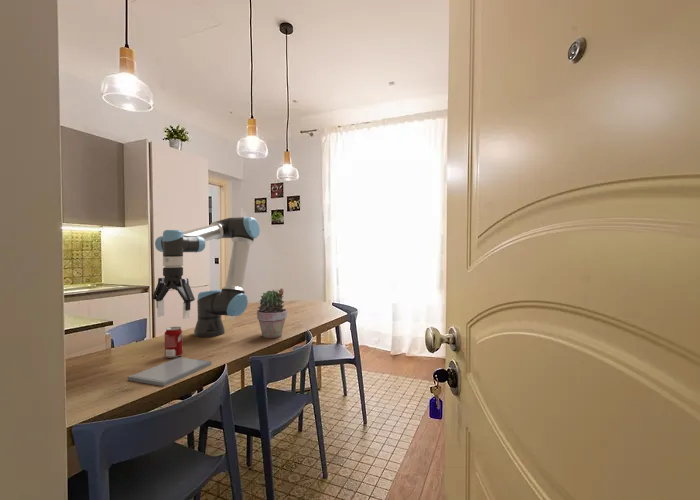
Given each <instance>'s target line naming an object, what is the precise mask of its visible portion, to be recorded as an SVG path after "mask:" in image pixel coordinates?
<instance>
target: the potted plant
mask: <svg viewBox="0 0 700 500" xmlns="http://www.w3.org/2000/svg"><path fill="white" fill-rule="evenodd" d="M260 297H261V298H260V300H259V301H258V303H259V304H260V305H259V306H258V307H255V308H253V309H258V310H256V318H257V320H258V323H259V328H260V331H261V336H262V337H263V338H266V339H274V338H279V337H281V336H282V335H283V330H284V325H285V323H286V319H287V318H288V310H287V309H288V308H284V307H285V304H284V303H285V301H284V300H283V297H284V288H280V289H279V290H278V289H276V290H274V289H272V290H267V291H266V292H263V293H262V295H261V296H260ZM255 304H257V302H255V303H254V305H255Z"/></svg>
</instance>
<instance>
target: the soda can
mask: <svg viewBox="0 0 700 500" xmlns="http://www.w3.org/2000/svg"><path fill="white" fill-rule="evenodd" d="M165 330H166V331H165V332H164V354H163V355H164V357H165V358H167V359H176V358H179V357H180V356H182V355H183V353H184V352H183V350H184V349H183V345H184V344H183V342H184V340H183V339H184V338H183V333H184V332H183V330H182V327H181V326H169V327H166V329H165Z"/></svg>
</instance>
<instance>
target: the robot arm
mask: <svg viewBox="0 0 700 500" xmlns="http://www.w3.org/2000/svg"><path fill="white" fill-rule="evenodd" d="M260 232H261V230H260V224H259V223H258V221H257V219H256V218H255V217H251V216H238V217H226V218H224V219H219V220H217V221H213V222H211V223H210V224H209V225H206V226H200V227H197V228H193V229H189V230H186V231H183V230H179V229H165V230H164V231H163V232H162V235H160V236H158V237H157V238H156V239H155V241H154V248H155V249H156V251H158V252H161V253H162V266H163V267H162V276H163V277H158V278H157V285H156V287H155V289H154V292H153V295H152V300H155V301H156V309H157V310H156V311H157V312H156V313H157V314H156V315H157V318H160V317H165V300H164V298H165V297H166V295H167V294H168V292H169V291H170V290H176V292H178V294H179V296H180V298H181V299H182V300H183V303H182V319H183V320H185V319H189V318H190V310H191V302H193V301H195V300H196V299H197V302H196V303H197V306H196V307H197V321H196V324H195V327H194V330H193V336H195V337H198V338H209V337H216V336H221V335H223V334H225V333H226V331H225V326H224V323H223V320H222V316H228V317H238V316H241V315H242V314H243V313H244V312H246V309H247V307H248V304H249V303H248V302H249V300H248V296H247V294H245V289H244V288H243V287H244V280H245V274H246V270H247V264H248V259H249V258H248V257H249V254H250V253H249V252H250V248H251V247H250V246H251V245H252V244H254V239H257V238H258V236H259V235H260ZM221 239H231V240H232V242H233V245H232V249H231V250H232V251H231V256H230V260H229V265H228V270H227V271H228V272H227V277H226V283H225V285H224V286H223V287H222V288H221V289H213V290H212V289H211V290H205V291H200V292H199V293H198V294H197V298H195V296H194V292H193V291H192V289H191V286H190V284H189V278H182V277H183V276H184V267H183V266H184V253H200V252H203V251H204V250H205V248H206V242H207V241H211V240H221Z"/></svg>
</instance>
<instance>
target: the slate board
mask: <svg viewBox="0 0 700 500" xmlns="http://www.w3.org/2000/svg"><path fill="white" fill-rule="evenodd" d="M211 365H212V361H211V360H203V359H202V360H201V359H196V358H195V359H194V358H189V357H188V358H186V357H180V356H179V357H177V358H172V360H169V361H168V360H167V361H166V362H163V363H160V364H158V365H155V366H153V367H150V368H148V369H144V370H142V371H139V372H137V373H134V374H132V375H129V376H128V377H127V381H131V382H136V383H142V384H147V385H148V384H149V385H154V386H155V385H156V386H161V387H166V386H168V385H170V384H172V383H174V382H176V380H177V381H178V379H179V380H180V379H183V378H184V377H187V376H189V375H192V374H193V373H196V372H198V371H200V370H202V369H205V368H207V367H209V366H211ZM169 383H170V384H169ZM167 384H168V385H167ZM165 385H166V386H165Z"/></svg>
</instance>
